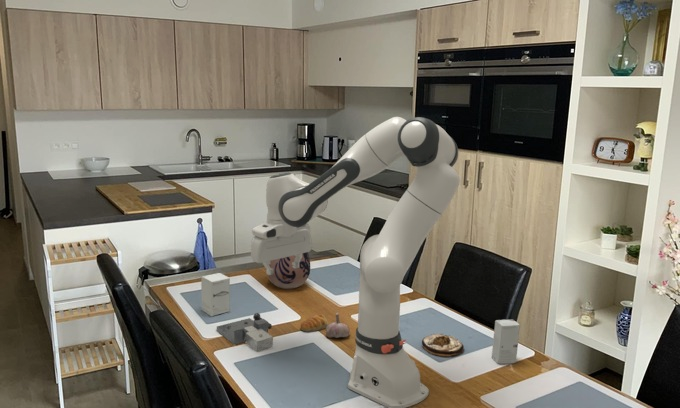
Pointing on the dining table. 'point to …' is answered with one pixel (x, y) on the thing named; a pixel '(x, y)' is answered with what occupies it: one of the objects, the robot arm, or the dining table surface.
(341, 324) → the garlic bulb
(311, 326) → the pastry
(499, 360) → the skincare box
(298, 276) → the ceramic pitcher
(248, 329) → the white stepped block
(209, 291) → the supplement box
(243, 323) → the gunmetal leaf
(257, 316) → the hinge pin
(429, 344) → the brown flat two-tone disc
